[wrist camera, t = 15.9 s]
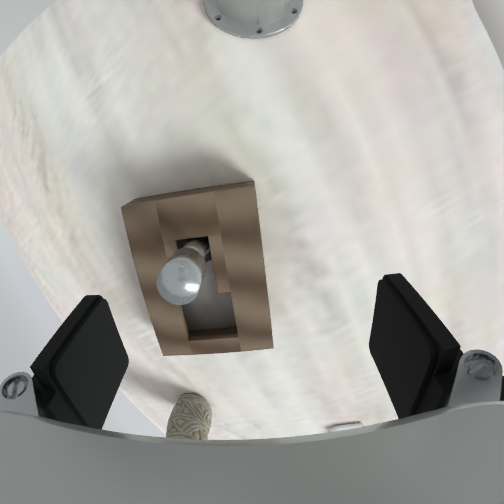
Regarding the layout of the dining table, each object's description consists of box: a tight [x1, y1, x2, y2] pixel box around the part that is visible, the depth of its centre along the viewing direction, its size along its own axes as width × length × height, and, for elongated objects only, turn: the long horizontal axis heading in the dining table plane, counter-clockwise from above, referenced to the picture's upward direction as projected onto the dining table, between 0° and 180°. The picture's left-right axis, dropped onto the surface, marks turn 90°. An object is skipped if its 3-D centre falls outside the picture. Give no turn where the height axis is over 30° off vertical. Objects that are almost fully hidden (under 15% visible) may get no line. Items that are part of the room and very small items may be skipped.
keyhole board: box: [121, 181, 273, 356], centre depth 40 cm, size 22×16×5 cm
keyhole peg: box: [157, 236, 212, 305], centre depth 34 cm, size 6×6×14 cm
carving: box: [166, 394, 212, 440], centre depth 46 cm, size 6×8×12 cm
